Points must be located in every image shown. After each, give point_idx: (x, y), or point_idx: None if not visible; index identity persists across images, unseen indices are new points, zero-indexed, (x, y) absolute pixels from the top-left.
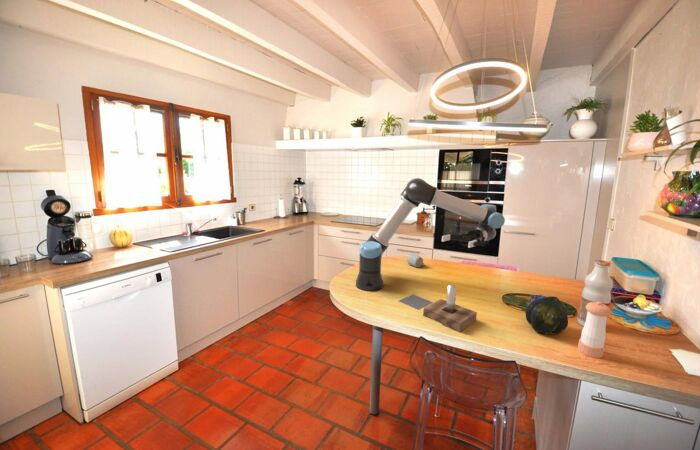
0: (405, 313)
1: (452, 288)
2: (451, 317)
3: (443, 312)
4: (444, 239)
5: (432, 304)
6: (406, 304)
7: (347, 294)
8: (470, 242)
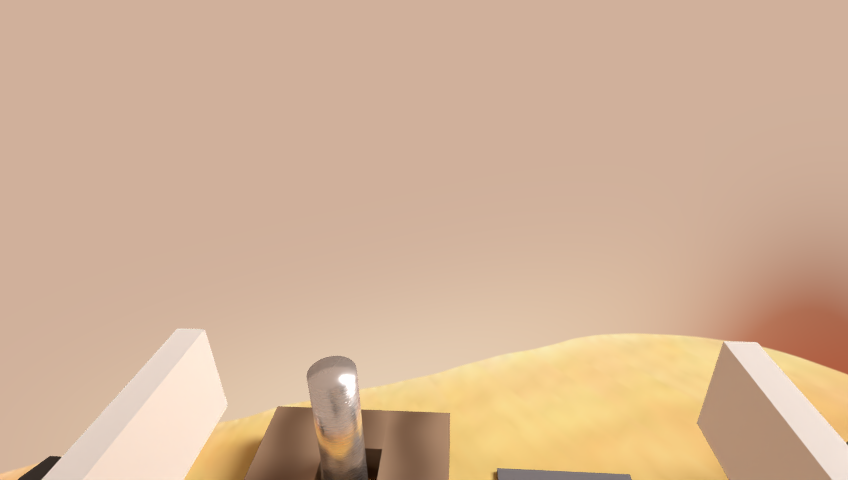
0: (513, 416)
1: (324, 362)
2: None
3: (363, 433)
4: (729, 434)
5: (441, 466)
6: (573, 473)
7: None
8: (173, 341)
